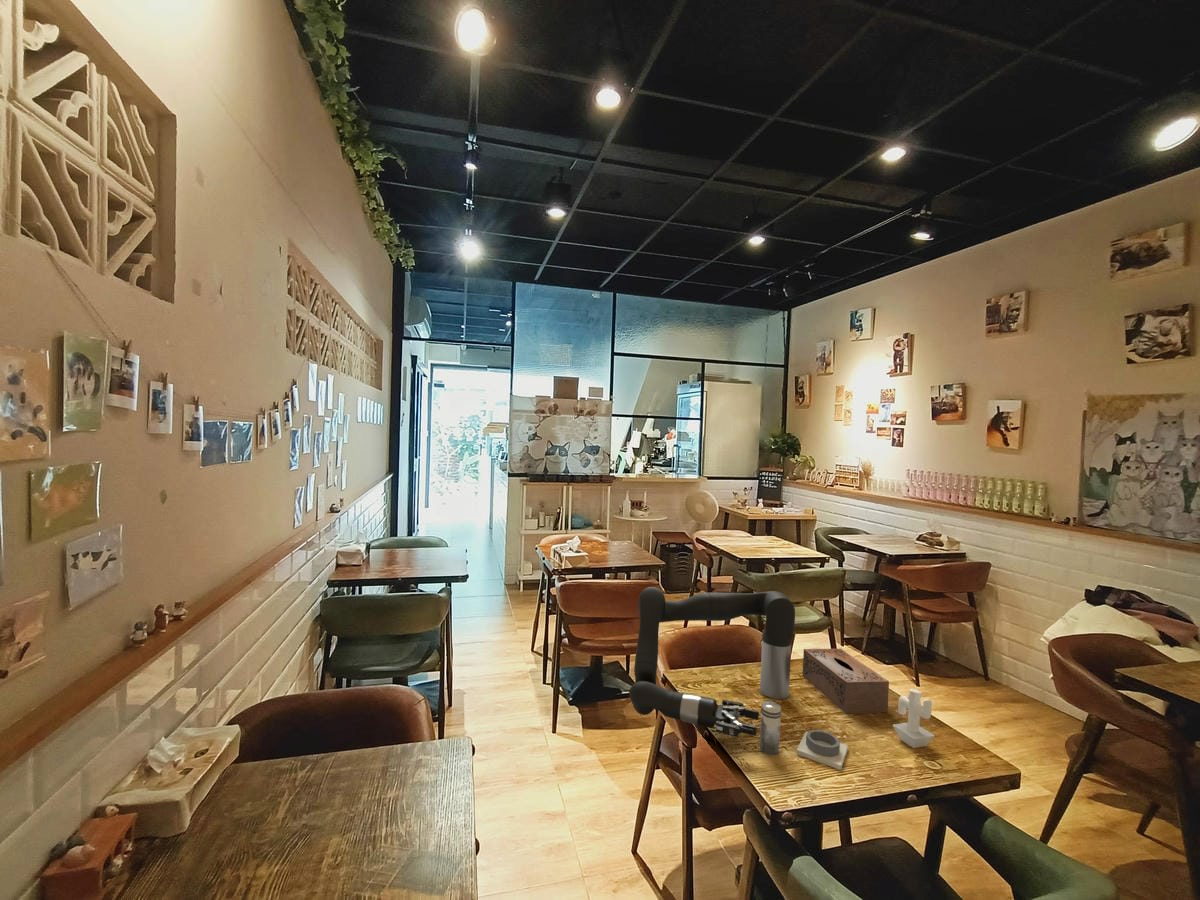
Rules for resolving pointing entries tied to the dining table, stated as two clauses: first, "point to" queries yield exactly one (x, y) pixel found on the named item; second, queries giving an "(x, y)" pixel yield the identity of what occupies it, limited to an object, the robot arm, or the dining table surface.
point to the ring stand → (823, 748)
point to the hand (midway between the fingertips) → (757, 723)
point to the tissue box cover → (846, 681)
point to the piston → (770, 727)
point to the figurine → (914, 719)
